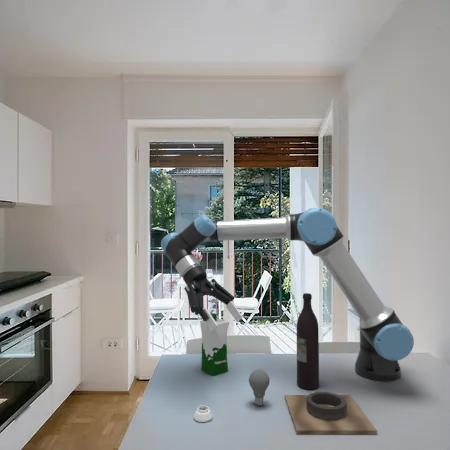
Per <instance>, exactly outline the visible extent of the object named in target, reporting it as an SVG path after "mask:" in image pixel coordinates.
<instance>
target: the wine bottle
mask: <svg viewBox="0 0 450 450" xmlns="http://www.w3.org/2000/svg"><path fill="white" fill-rule="evenodd" d="M302 299H303V300H302V301H303V303H302V304H303V306H302V309H301V312H300V314H299V316H298V317H297V321H296V384H297V386H298V388H300V389H303V390H308V391H311V390H317V389H318V388H319V387H320V367H319V366H320V361H319V360H320V352H319V351H320V350H319V349H320V348H319V347H320V344H319V343H320V341H319V337H320V336H319V322H318V319H317V317H316V315H315V313H314V310H313V307H312V299H313V295H312V293H307V292H305V293H303V294H302Z"/></svg>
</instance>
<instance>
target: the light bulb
mask: <svg viewBox="0 0 450 450" xmlns="http://www.w3.org/2000/svg"><path fill="white" fill-rule="evenodd" d="M248 384H249V386H250V388H251V390H252V392H253V395H254V404H256V405H257V406H263V405H264V400H265V399H264V397H265V395H266V391H267V389H268V387H269V385H270V376H269V374H268V373H267V372H266V371H265V370H263V369H260V368H259V369H254V370H253V371H252V372H251V373H250V375H249V377H248Z"/></svg>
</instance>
